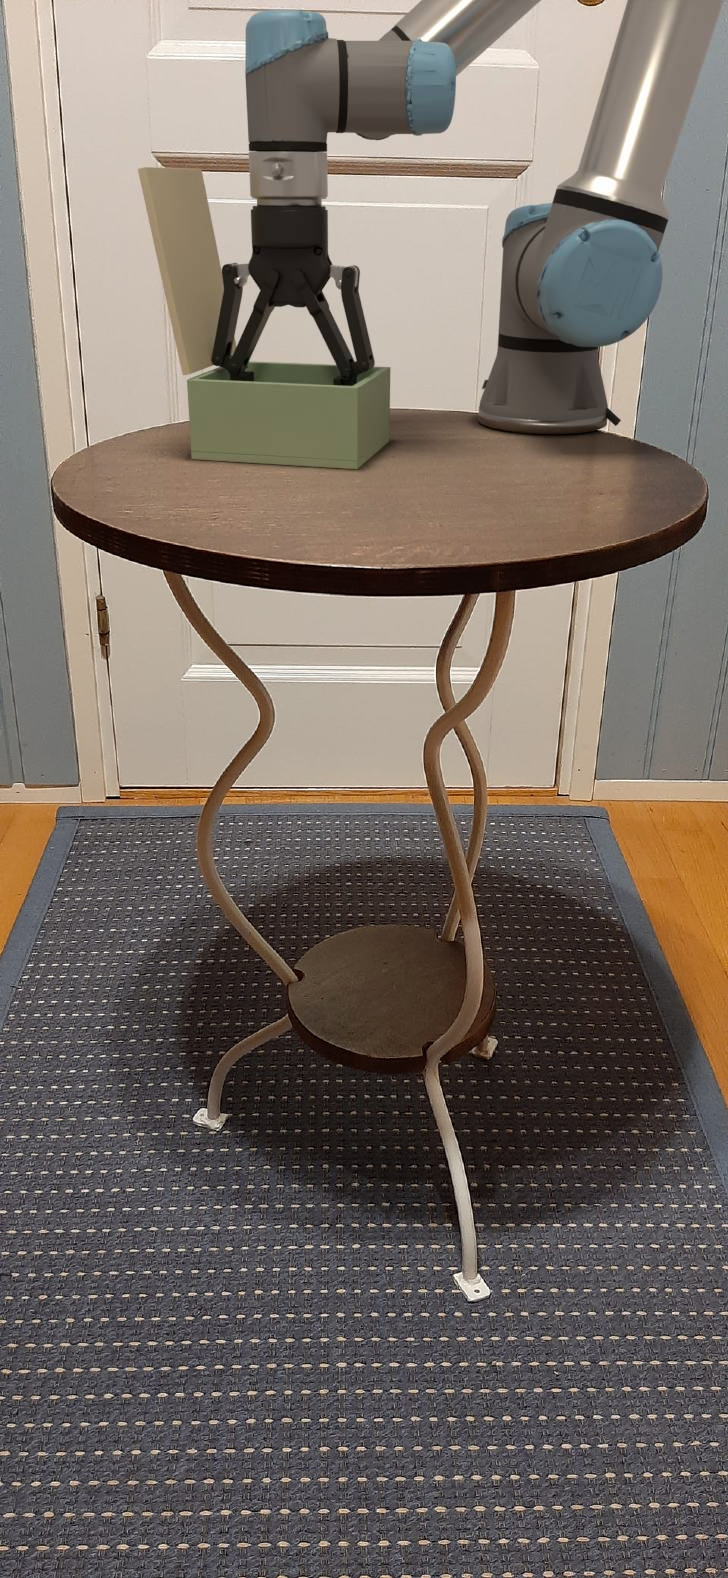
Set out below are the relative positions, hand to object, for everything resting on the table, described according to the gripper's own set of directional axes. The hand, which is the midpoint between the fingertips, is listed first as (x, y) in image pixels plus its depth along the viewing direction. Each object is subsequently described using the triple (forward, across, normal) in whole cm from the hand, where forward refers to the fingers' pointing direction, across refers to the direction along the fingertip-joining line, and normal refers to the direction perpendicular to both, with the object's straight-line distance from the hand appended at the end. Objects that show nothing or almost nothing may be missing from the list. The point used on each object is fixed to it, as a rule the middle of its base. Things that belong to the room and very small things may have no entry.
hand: (294, 439), depth 122 cm
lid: (-16, -10, 0) cm, 19 cm away
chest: (+1, 0, 0) cm, 1 cm away
